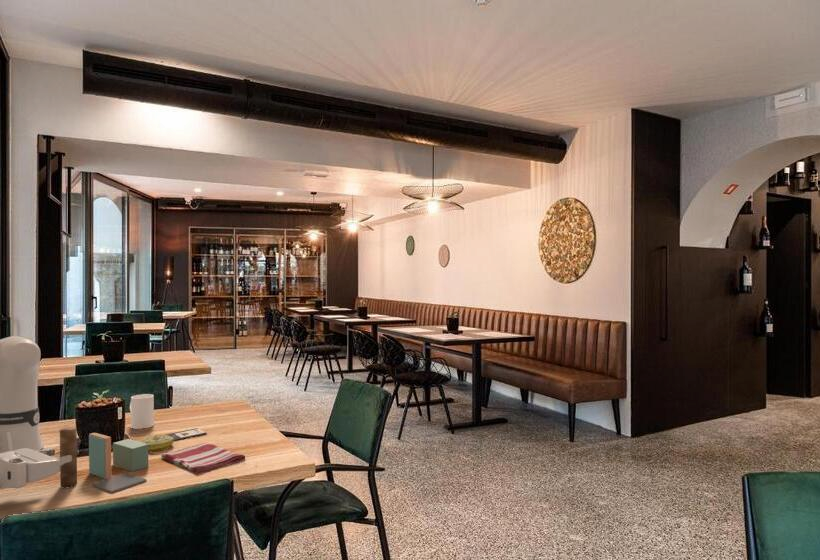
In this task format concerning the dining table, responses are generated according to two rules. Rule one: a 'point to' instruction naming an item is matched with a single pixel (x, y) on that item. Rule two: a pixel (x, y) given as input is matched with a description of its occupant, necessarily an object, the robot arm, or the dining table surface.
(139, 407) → the mug
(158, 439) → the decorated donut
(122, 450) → the sage green block
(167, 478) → the dining table surface
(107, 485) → the coaster
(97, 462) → the tile
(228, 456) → the dish towel
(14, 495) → the dining table surface
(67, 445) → the dowel
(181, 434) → the chocolate bar
